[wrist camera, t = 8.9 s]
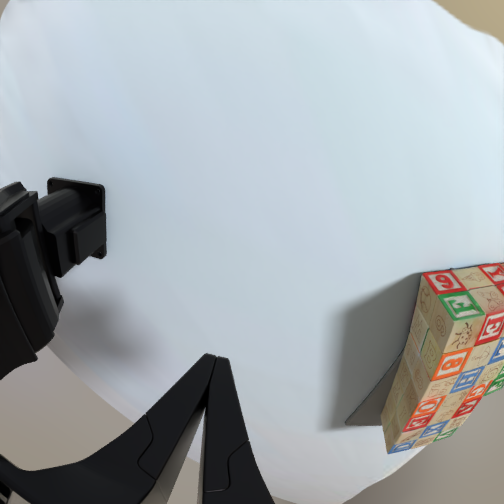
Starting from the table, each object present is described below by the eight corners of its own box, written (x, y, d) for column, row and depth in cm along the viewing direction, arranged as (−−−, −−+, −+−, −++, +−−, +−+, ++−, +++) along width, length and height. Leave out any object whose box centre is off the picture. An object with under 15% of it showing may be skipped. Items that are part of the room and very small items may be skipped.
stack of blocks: (378, 414, 29) (457, 396, 27) (385, 455, 23) (469, 431, 21) (422, 270, 19) (518, 259, 17) (456, 320, 14) (554, 294, 12)
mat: (345, 422, 30) (345, 425, 30) (451, 267, 19) (453, 270, 19) (419, 420, 30) (420, 423, 30) (521, 290, 19) (524, 292, 19)
